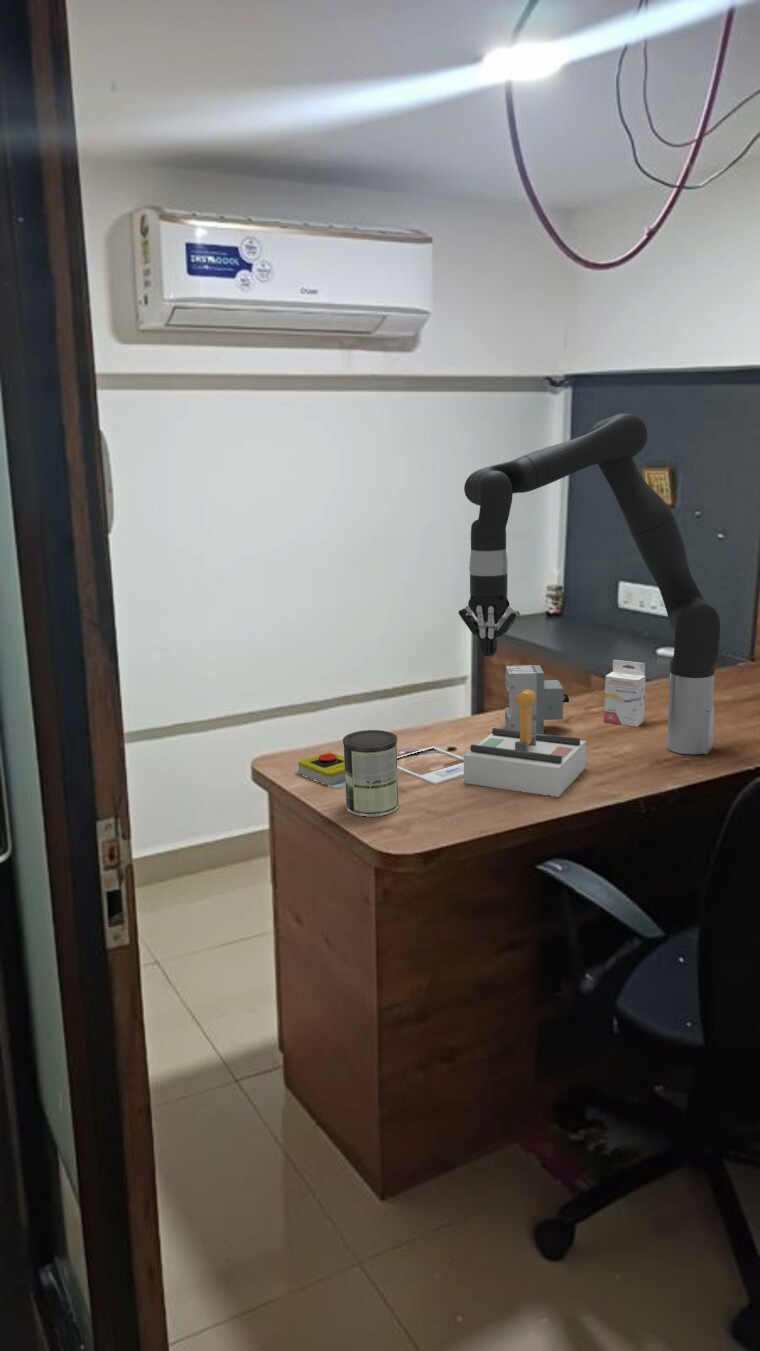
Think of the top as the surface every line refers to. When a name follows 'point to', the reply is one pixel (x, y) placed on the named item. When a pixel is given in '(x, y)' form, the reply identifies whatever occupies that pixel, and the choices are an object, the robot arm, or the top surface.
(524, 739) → the lever
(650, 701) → the top surface
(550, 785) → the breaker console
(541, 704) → the circuit breaker
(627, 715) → the ink cartridge box
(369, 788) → the coffee can
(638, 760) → the top surface
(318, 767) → the emergency button
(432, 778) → the photo frame
